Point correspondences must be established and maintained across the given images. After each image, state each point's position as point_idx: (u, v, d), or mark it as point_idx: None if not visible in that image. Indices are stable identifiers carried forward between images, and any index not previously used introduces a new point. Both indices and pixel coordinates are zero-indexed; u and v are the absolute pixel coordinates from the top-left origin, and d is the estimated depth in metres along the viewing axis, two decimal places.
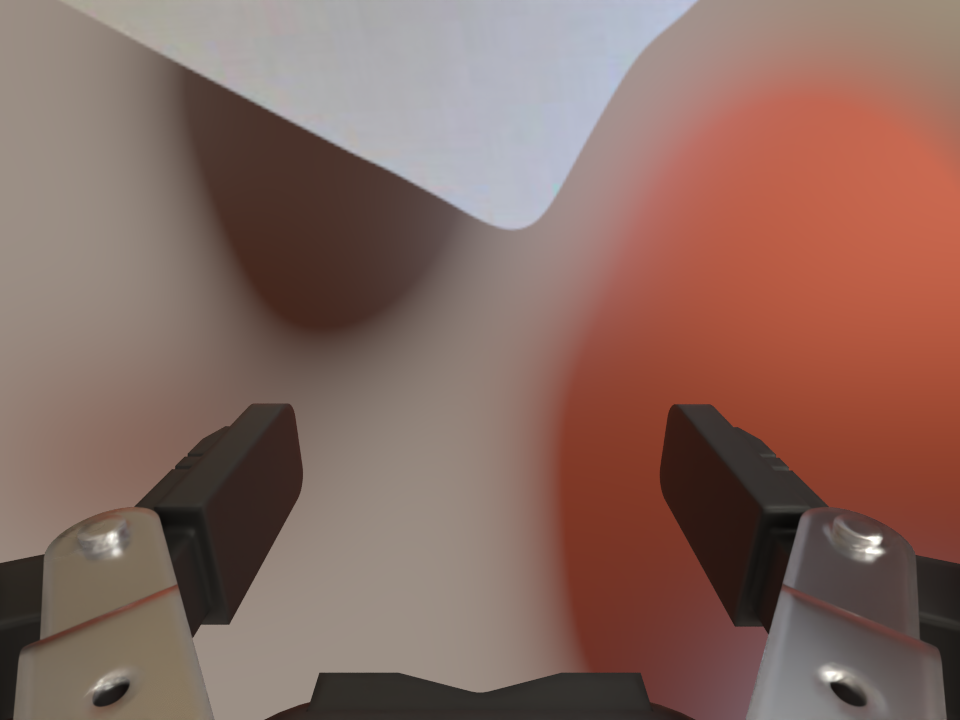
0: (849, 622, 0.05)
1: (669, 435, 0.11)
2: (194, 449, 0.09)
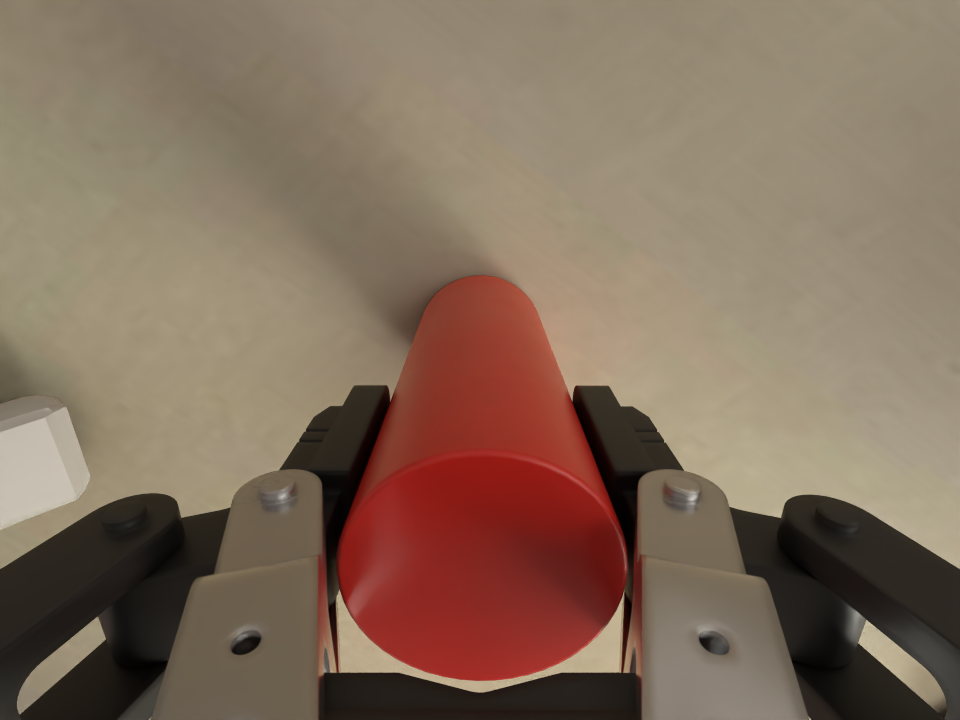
0: (699, 575, 0.05)
1: None
2: (310, 425, 0.10)
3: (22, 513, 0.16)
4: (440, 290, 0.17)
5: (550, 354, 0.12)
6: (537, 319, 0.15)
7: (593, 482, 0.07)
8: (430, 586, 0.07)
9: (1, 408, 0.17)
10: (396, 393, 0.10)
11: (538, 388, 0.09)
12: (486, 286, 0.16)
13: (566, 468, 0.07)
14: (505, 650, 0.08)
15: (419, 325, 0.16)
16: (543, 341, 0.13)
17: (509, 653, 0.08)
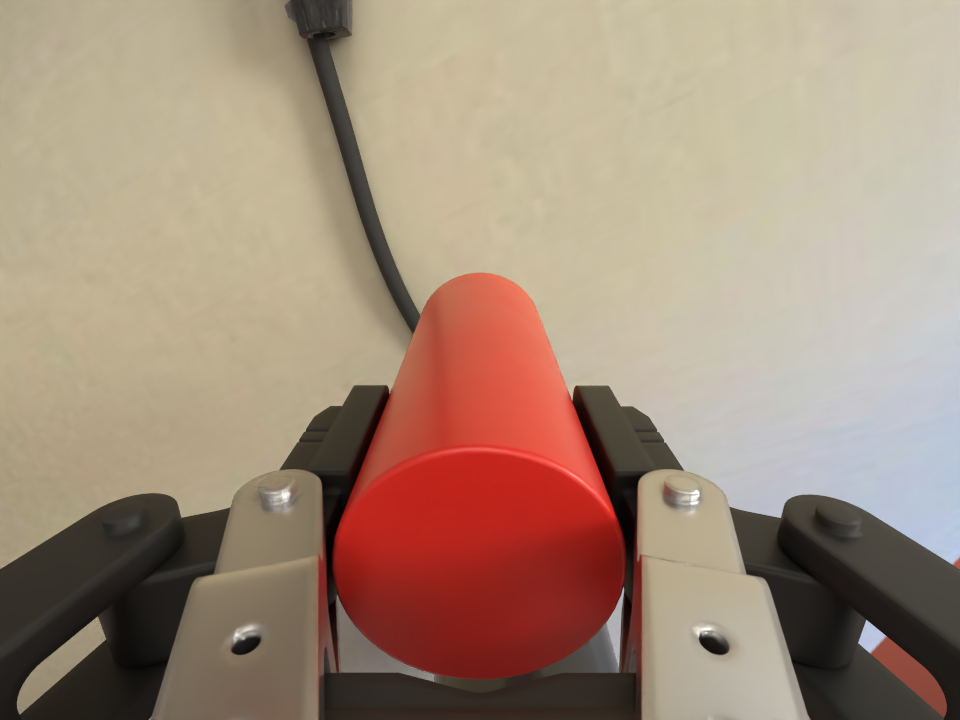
0: (699, 575, 0.05)
1: None
2: (310, 425, 0.10)
3: None
4: None
5: (549, 351, 0.12)
6: (536, 316, 0.15)
7: (591, 479, 0.07)
8: (427, 583, 0.07)
9: None
10: (394, 390, 0.10)
11: (537, 384, 0.09)
12: (485, 284, 0.15)
13: (564, 464, 0.07)
14: (502, 648, 0.08)
15: (418, 322, 0.16)
16: (542, 338, 0.13)
17: (506, 652, 0.08)
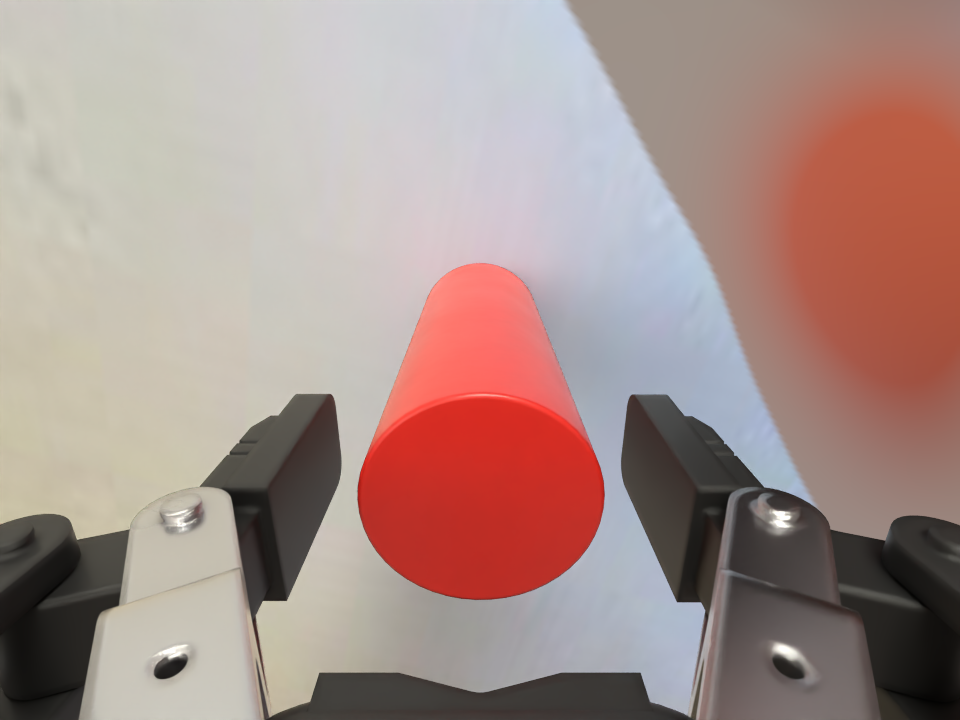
0: (782, 597, 0.05)
1: (628, 424, 0.11)
2: (245, 436, 0.10)
3: None
4: (442, 277, 0.19)
5: (543, 330, 0.14)
6: (532, 302, 0.17)
7: (574, 423, 0.08)
8: (437, 513, 0.09)
9: None
10: (405, 361, 0.12)
11: (530, 352, 0.10)
12: (485, 272, 0.17)
13: (551, 409, 0.08)
14: (500, 570, 0.09)
15: (423, 308, 0.17)
16: (536, 319, 0.14)
17: (504, 574, 0.09)
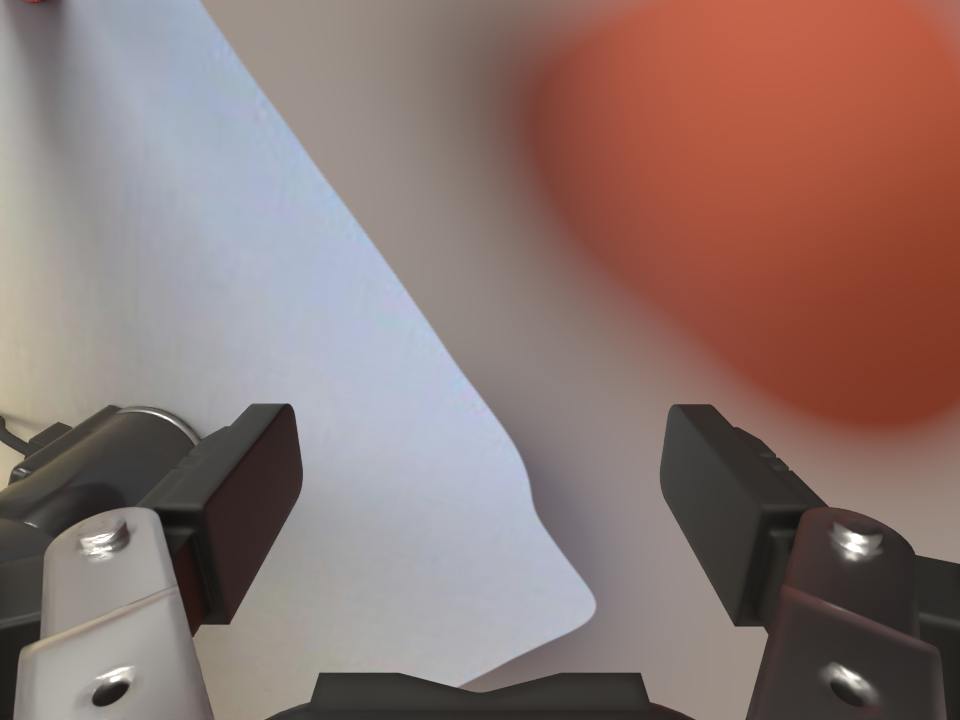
0: (849, 622, 0.05)
1: (669, 435, 0.11)
2: (194, 449, 0.09)
3: None
4: None
5: None
6: None
7: None
8: None
9: None
10: None
11: None
12: None
13: None
14: None
15: None
16: None
17: None
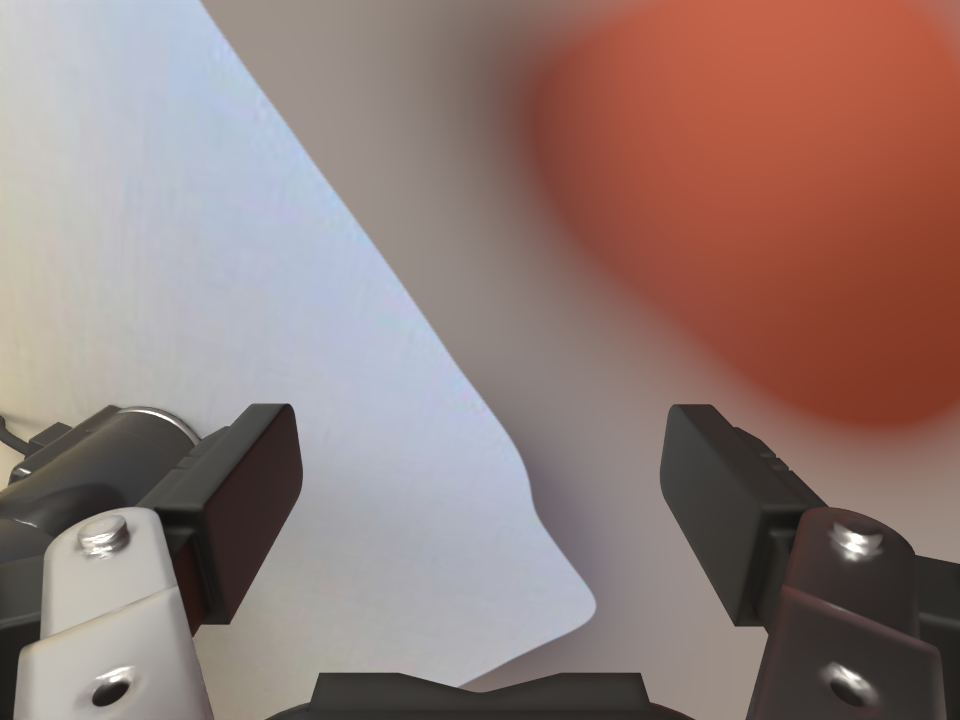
0: (849, 622, 0.05)
1: (669, 435, 0.11)
2: (194, 449, 0.09)
3: None
4: None
5: None
6: None
7: None
8: None
9: None
10: None
11: None
12: None
13: None
14: None
15: None
16: None
17: None
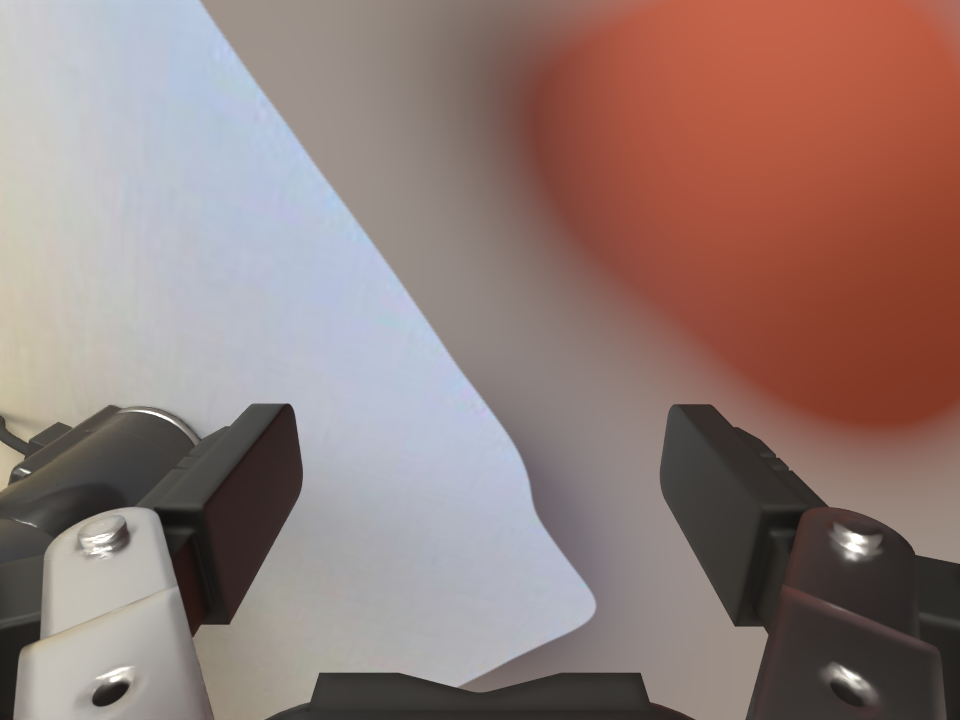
0: (849, 622, 0.05)
1: (669, 435, 0.11)
2: (194, 449, 0.09)
3: None
4: None
5: None
6: None
7: None
8: None
9: None
10: None
11: None
12: None
13: None
14: None
15: None
16: None
17: None
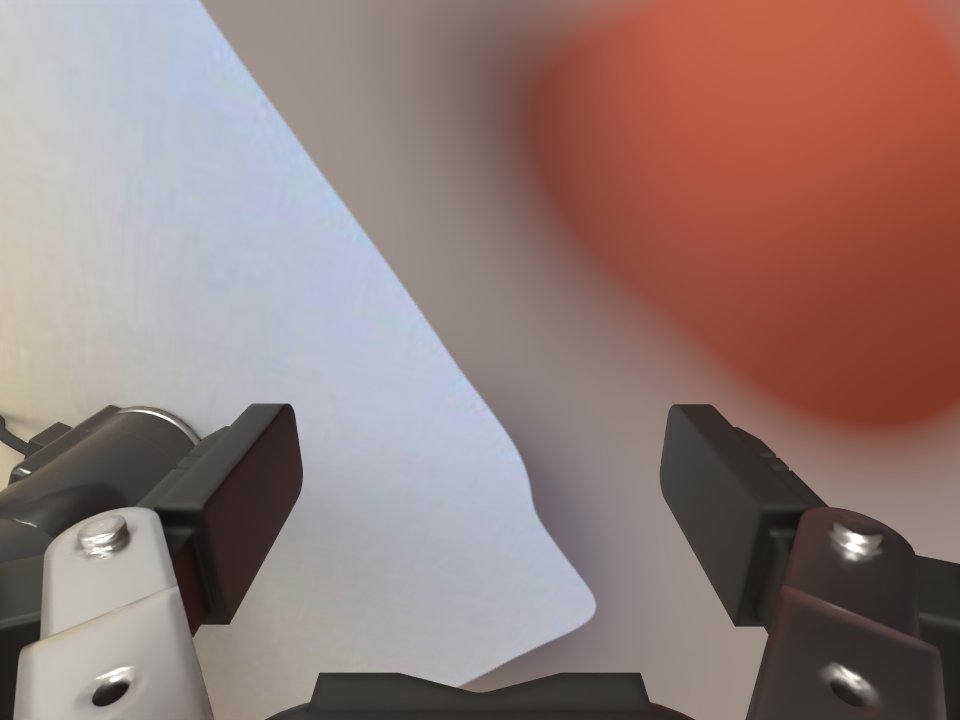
0: (849, 622, 0.05)
1: (669, 435, 0.11)
2: (194, 449, 0.09)
3: None
4: None
5: None
6: None
7: None
8: None
9: None
10: None
11: None
12: None
13: None
14: None
15: None
16: None
17: None
